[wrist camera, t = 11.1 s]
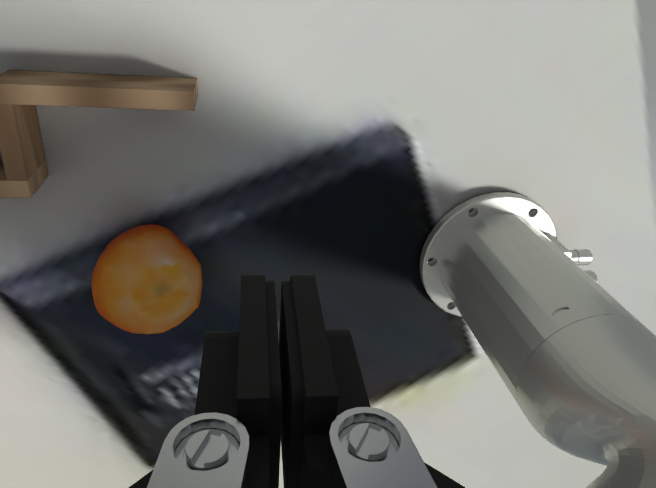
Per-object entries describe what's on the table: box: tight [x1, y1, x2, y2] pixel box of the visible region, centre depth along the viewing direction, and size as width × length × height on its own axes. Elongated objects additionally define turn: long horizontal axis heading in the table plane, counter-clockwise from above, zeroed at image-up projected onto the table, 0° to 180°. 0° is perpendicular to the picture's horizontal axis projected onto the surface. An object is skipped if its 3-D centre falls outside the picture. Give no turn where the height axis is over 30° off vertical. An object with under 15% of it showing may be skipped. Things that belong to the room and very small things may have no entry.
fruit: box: [92, 224, 202, 334], centre depth 41 cm, size 8×8×8 cm
